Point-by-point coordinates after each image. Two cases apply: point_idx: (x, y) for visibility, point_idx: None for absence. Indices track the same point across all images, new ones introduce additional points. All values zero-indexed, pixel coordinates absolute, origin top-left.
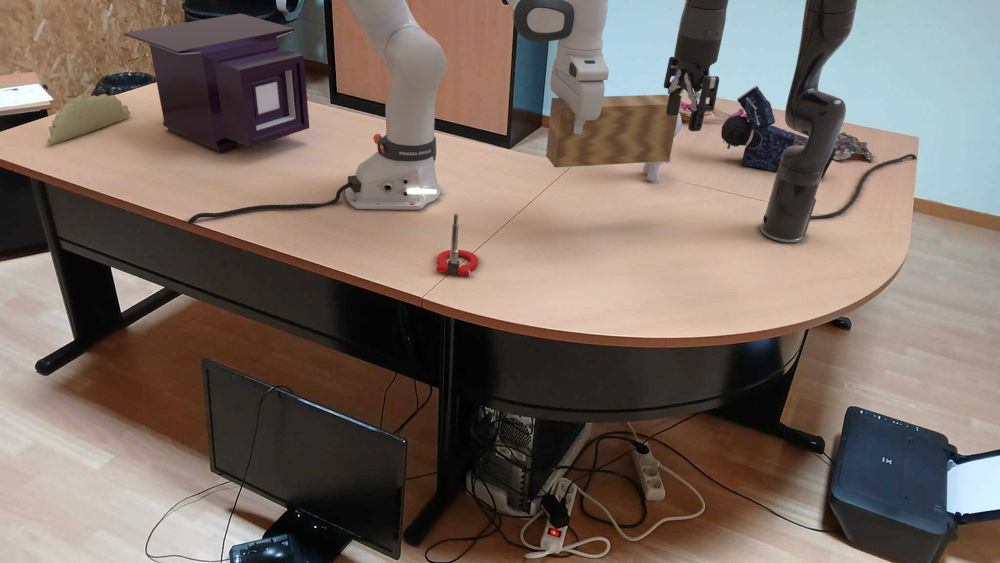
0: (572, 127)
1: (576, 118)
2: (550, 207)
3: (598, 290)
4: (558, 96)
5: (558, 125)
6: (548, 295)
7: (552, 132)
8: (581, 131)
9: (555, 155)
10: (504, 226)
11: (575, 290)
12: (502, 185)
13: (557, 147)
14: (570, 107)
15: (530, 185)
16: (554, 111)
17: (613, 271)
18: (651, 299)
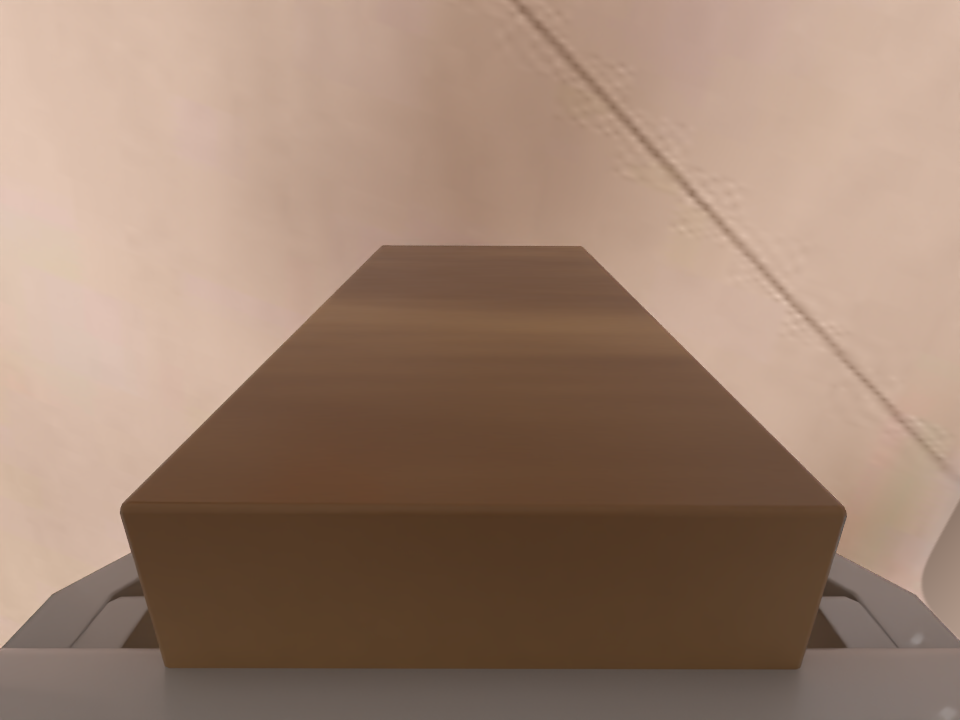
0: None
1: (66, 601)
2: (658, 288)
3: (62, 249)
4: (900, 663)
5: (319, 346)
6: (8, 55)
7: (508, 300)
8: None
9: (382, 260)
10: (545, 40)
11: (54, 170)
12: (913, 150)
13: (347, 280)
14: (137, 674)
15: (864, 272)
16: (535, 401)
17: (185, 339)
18: (28, 385)
